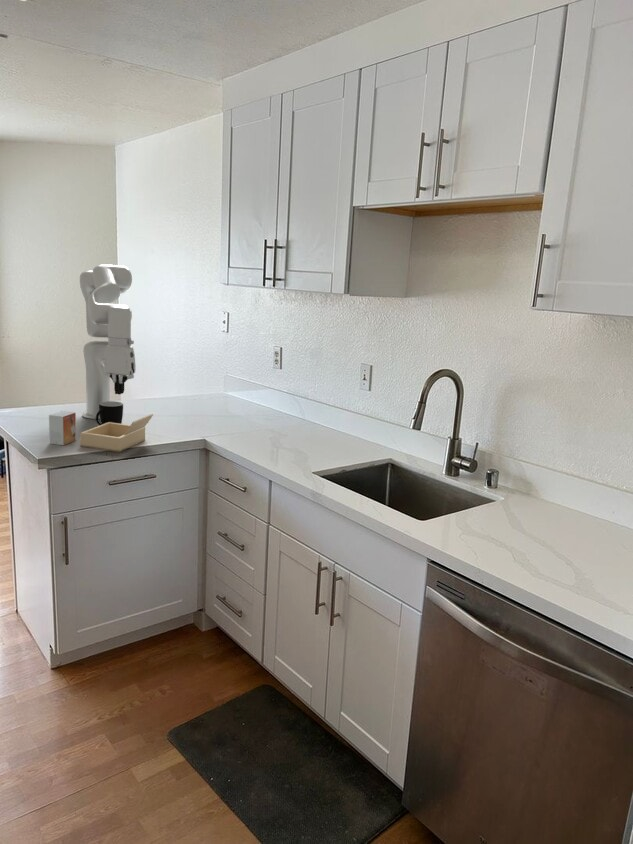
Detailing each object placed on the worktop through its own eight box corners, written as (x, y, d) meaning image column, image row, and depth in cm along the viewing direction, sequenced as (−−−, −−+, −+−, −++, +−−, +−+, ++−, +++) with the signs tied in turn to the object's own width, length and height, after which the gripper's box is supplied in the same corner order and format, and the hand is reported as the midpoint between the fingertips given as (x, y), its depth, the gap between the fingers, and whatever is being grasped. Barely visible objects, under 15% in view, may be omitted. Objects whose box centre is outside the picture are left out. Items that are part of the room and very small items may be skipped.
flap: (152, 413, 227) (153, 414, 227) (143, 426, 229) (144, 427, 229) (133, 421, 214) (134, 422, 214) (123, 434, 216) (124, 435, 216)
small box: (63, 445, 218) (62, 416, 216) (49, 443, 219) (48, 414, 217) (76, 440, 226) (76, 412, 223) (62, 438, 227) (62, 410, 224)
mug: (111, 424, 250) (111, 400, 248) (128, 428, 247) (128, 403, 244) (88, 430, 240) (87, 404, 238) (105, 434, 236) (104, 408, 234)
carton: (108, 434, 236) (108, 422, 235) (145, 440, 233) (145, 427, 231) (80, 446, 219) (80, 432, 217) (119, 452, 215) (119, 438, 214)
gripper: (144, 343, 219) (143, 394, 223) (106, 339, 222) (106, 389, 226) (133, 345, 212) (133, 398, 216) (94, 341, 215) (94, 392, 219)
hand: (119, 393), depth 221 cm, fingers closed
